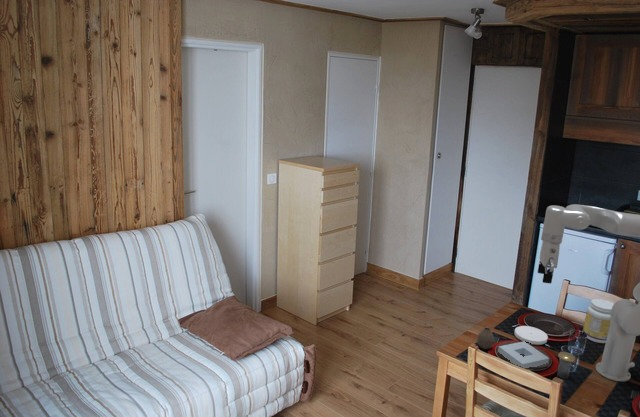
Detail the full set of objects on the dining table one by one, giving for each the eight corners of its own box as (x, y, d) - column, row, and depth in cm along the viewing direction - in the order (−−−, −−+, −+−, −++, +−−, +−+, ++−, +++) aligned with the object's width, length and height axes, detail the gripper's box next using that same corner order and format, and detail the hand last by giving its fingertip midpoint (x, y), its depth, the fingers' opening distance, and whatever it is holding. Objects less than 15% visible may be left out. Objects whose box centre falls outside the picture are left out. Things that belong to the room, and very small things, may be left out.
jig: (522, 349, 232) (524, 341, 231) (547, 366, 220) (549, 358, 219) (497, 354, 227) (498, 346, 226) (521, 372, 215) (522, 364, 213)
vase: (493, 352, 229) (496, 333, 226) (476, 349, 230) (479, 331, 228) (491, 344, 235) (494, 326, 233) (475, 341, 236) (478, 323, 234)
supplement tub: (587, 328, 255) (594, 295, 251) (615, 338, 247) (622, 304, 242) (577, 336, 247) (584, 302, 242) (605, 347, 239) (613, 312, 234)
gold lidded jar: (562, 370, 218) (566, 350, 216) (574, 378, 213) (578, 358, 210) (551, 373, 216) (555, 353, 213) (563, 381, 210) (567, 361, 208)
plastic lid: (508, 336, 243) (508, 331, 243) (523, 327, 252) (524, 323, 252) (537, 350, 233) (538, 344, 233) (552, 340, 242) (553, 335, 242)
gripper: (567, 245, 200) (559, 288, 205) (556, 231, 217) (549, 271, 221) (546, 243, 201) (538, 285, 206) (537, 229, 218) (530, 268, 223)
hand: (544, 278), depth 214 cm, fingers open, 9 cm apart
